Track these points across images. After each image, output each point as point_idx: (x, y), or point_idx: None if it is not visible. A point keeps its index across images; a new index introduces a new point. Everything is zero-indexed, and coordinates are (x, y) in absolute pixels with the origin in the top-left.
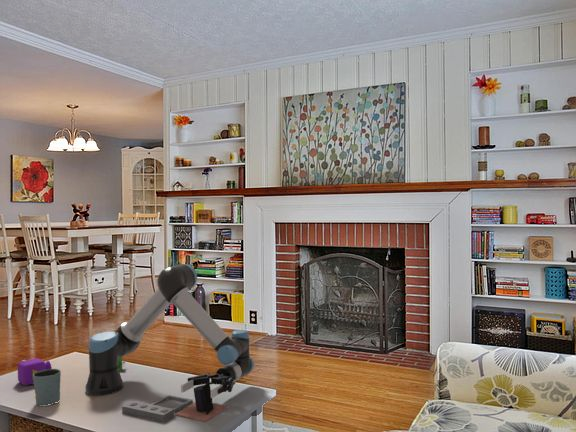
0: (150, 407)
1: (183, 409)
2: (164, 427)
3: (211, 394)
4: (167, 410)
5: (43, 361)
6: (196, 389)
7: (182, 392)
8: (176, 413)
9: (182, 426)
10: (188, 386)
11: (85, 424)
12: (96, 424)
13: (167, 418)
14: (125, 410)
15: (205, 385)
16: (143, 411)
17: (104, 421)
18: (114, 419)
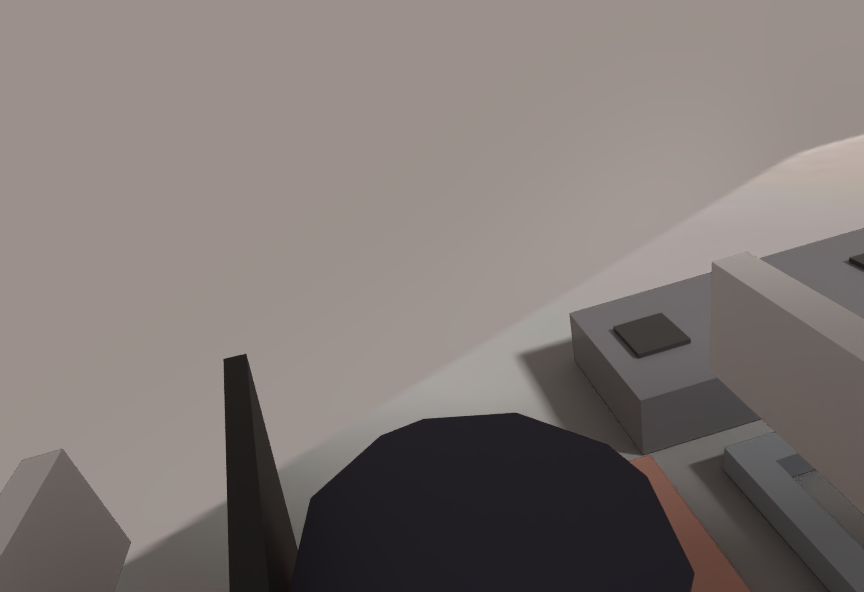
0: (834, 290)
1: (730, 575)
2: (483, 343)
3: (82, 507)
4: (632, 346)
5: None
6: (496, 443)
7: (714, 366)
8: (652, 467)
9: (386, 416)
10: (843, 433)
11: (843, 151)
12: (811, 172)
13: (595, 382)
14: None
15: (237, 442)
16: (773, 258)
17: (841, 188)
18: (848, 212)
